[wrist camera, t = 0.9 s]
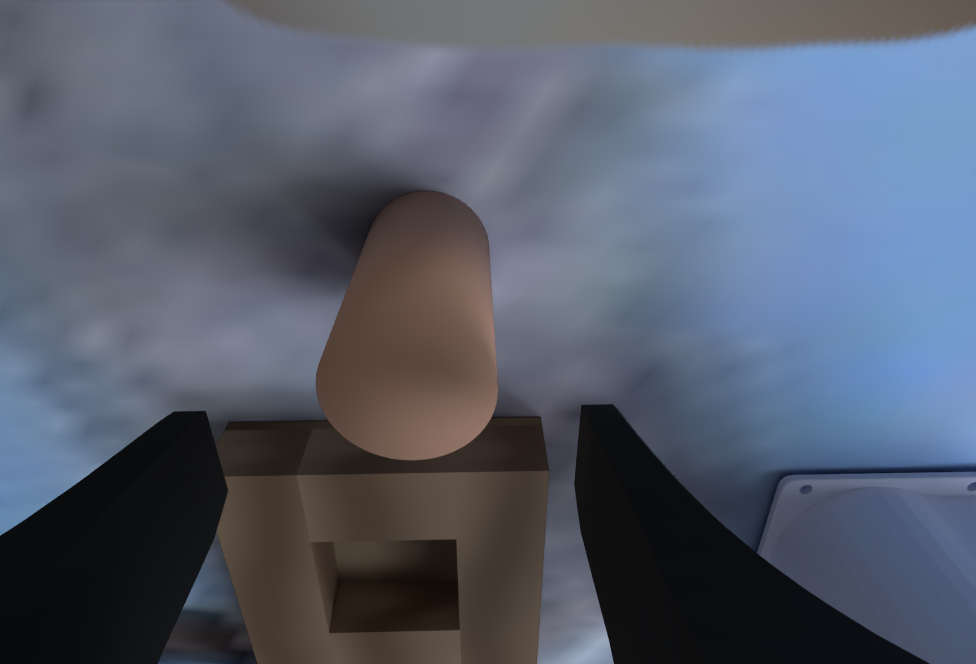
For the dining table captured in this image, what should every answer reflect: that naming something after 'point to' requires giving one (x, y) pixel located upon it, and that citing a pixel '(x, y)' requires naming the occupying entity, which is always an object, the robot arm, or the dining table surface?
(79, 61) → the dining table surface
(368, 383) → the pin
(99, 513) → the robot arm
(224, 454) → the bore board
